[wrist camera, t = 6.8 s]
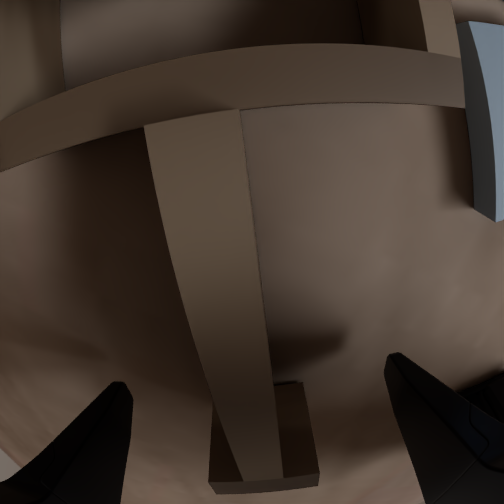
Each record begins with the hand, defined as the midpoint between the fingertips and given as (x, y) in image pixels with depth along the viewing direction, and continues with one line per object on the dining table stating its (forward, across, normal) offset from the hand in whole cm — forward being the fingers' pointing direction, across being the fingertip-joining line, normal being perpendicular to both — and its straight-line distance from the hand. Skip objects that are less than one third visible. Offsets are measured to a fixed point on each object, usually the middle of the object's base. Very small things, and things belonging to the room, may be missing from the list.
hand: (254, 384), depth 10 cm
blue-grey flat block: (+1, -9, -8) cm, 12 cm away
